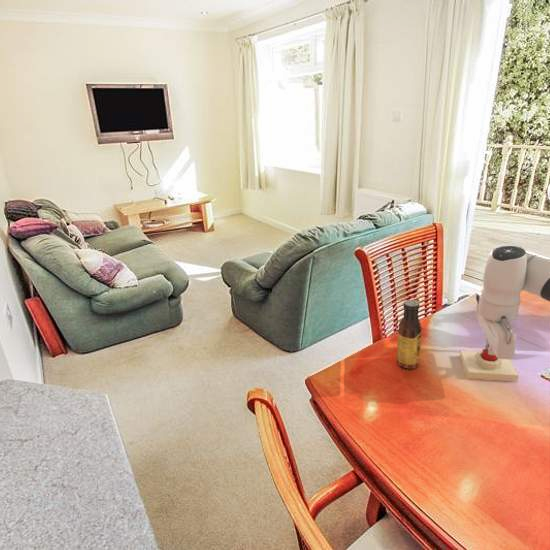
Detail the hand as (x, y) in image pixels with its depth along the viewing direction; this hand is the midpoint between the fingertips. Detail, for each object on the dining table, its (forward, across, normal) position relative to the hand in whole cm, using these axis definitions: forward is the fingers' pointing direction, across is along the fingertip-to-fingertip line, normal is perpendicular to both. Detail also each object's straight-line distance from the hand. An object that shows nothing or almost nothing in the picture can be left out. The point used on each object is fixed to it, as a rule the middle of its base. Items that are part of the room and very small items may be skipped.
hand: (490, 352), depth 102 cm
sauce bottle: (+6, 0, +21) cm, 22 cm away
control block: (+6, 0, 0) cm, 6 cm away
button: (+2, 0, 0) cm, 2 cm away
